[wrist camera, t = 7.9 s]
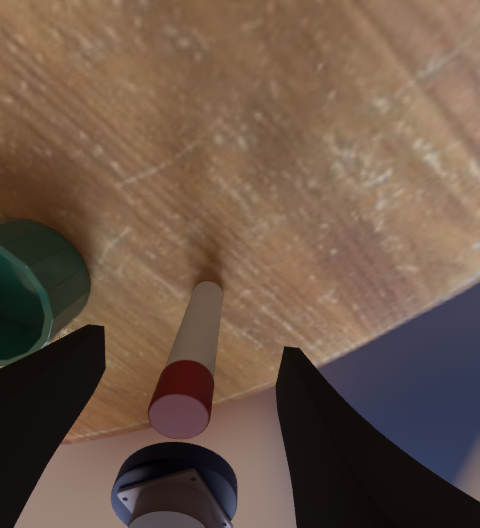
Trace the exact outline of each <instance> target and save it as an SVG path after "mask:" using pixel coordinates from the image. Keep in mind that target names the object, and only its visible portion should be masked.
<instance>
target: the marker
mask: <svg viewBox="0 0 480 528" xmlns="http://www.w3.org/2000/svg"><path fill="white" fill-rule="evenodd" d="M222 302H223V291H222V289H221V288H220V286H219V285H218V284H216V283H214V282H211V281H204V282H201V283H199V284H197V285H196V286H195V288H194V290H193V293H192V295H191V298H190V301H189V303H188V306H187V309H186V312H185V314H184V317H183V320H182V322H181V325H180V328H179V331H178V333H177V336H176V339H175V341H174V344H173V347H172V350H171V352H170V355H169V358H168V361H167V363H166V366H165V369H164V370H163V371H162V373H161V375H160V378H159V381H158V383H157V386H156V389H155V391H154V394H153V397H152V399H151V402H150V405H149V408H148V419H149V422H150V424H151V425H152V427H153V428H154V429H155V430H156V431H157V432H159V433H160V434H162V435H164V436H166V437H169V438H173V439H188V438H192V437H195V436H197V435H199V434H200V433H202V432H203V431H204V430H205V429H206V427H207V426H208V424H209V421H210V416H211V407H212V398H213V390H214V379H213V377H214V369H215V361H216V352H217V344H218V336H219V327H220V319H221V311H222Z"/></svg>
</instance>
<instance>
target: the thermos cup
mask: <svg viewBox="0 0 480 528" xmlns="http://www.w3.org/2000/svg"><path fill="white" fill-rule="evenodd" d="M89 291H90V282H89V276H88V272H87V269H86V266H85V264H84V262H83V260H82V258H81V256H80V255H79V253H78V252H77V251H76V249H75V248H74V247H73V246H72V245H71V244H70V242H69V241H67V240H66V239H65V238H64V237H63V236H62V235H60V234H59V233H57V232H56V231H54V230H53V229H51V228H49V227H47V226H45V225H43V224H40V223H38V222H34V221H31V220H26V219H19V218H7V219H1V220H0V366H7V365H9V364H11V363H13V362H15V361H17V360H19V359H21V358H23V357H25V356H27V355H30V354H32V353H34V352H36V351H38V350H40V349H42V348H43V347H45V346H47V345H48V344H49V343H50V342H51V341H52V340H53V339H54V338H55V337H56V336H57V335H58V334H60V333H61V332H62V331H63V330H64V329H65V328H66V327H67V326H68V325H69V324H70V323H71V322H72V321H73V320H74V319H75V318H76V317H77V316H78V315H79V314H80V313H81V311H82V310H83V309H84V307H85V305H86V303H87V300H88V297H89Z"/></svg>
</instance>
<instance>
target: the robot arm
mask: <svg viewBox="0 0 480 528" xmlns="http://www.w3.org/2000/svg"><path fill="white" fill-rule="evenodd" d="M105 369H106V365H105V334H104V326H98V325H90V324H88V325H86V326H84V327H82V328H80V329H78V330H76V331H74V332H72V333H70V334H68V335H66V336H64V337H63V338H61V339H59V340H57V341H55V342H53V343H51V344H49V345H47V346H45V347H43V348H42V349H40V350H38V351H36V352H34V353H32V354H30V355H27V356H25V357H23V358H21V359H19V360H17V361H15V362H13V363H11V364H9V365H7V366H5V367H2V368H0V528H14V526H15V523H16V522H17V520H18V518H19V516H20V514H21V512H22V510H23V508H24V506H25V504H26V502H27V501H28V499H29V497H30V495H31V493H32V491H33V490H34V488H35V486H36V484H37V482H38V480H39V479H40V477H41V475H42V473H43V471H44V469H45V468H46V465H47V464H48V462H49V461H50V459H51V458H52V456H53V454H54V453H55V451H56V449H57V448H58V446H59V445H60V443H61V442H62V440H63V439H64V437H65V436H66V434H67V433H68V431H69V430H70V428H71V427H72V425H73V424H74V422H75V421H76V419H77V418H78V416H79V415H80V413H81V412H82V410H83V409H84V407H85V406H86V404H87V403H88V401H89V399H90V398H91V396H92V395H93V393H94V391H95V389H96V387H97V385H98V383H99V381H100V379H101V377H102V375H103V373H104V371H105ZM276 399H277V410H278V416H279V421H280V426H281V431H282V436H283V441H284V446H285V451H286V456H287V461H288V466H289V470H290V477H291V482H292V488H293V498H294V507H295V515H296V525H297V528H480V502H479V501H477V500H476V499H474V498H472V497H471V496H469V495H467V494H466V493H464V492H463V491H461V490H459V489H458V488H456V487H454V486H453V485H451V484H450V483H448V482H447V481H445V480H444V479H442V478H441V477H439V476H438V475H436V474H435V473H433V472H432V471H430V470H429V469H428V468H426V467H425V466H423V465H422V464H420V463H419V462H418V461H416V460H415V459H414V458H412V457H411V456H409V455H408V454H407V453H405V452H404V451H403V450H401V449H400V448H399V447H398V446H396V445H395V444H394V443H392V442H391V441H390V440H389V439H387V438H386V437H385V436H384V435H382V434H381V433H380V432H379V431H378V430H376V429H375V428H374V427H373V426H372V425H371V424H370V423H369V422H367V421H366V420H365V419H364V418H363V417H362V416H361V415H359V414H358V413H357V412H356V411H355V410H354V409H353V408H352V407H351V406H350V405H349V404H348V403H347V402H346V401H345V400H344V399H343V398H342V397H341V396H340V395H339V394H338V393H337V391H336V390H335V389H334V388H333V387H332V386H331V385H330V384H329V383H328V382H327V380H326V379H325V378H324V377H323V376H322V375H321V374H320V372H319V371H318V370H317V369H316V368H315V366H314V365H313V364H312V363H311V361H310V360H309V359H308V358H307V357H306V355H305V354H304V353H303V352H302V351H301V349H300V348H295V347H286V346H284V351H283V355H282V360H281V364H280V369H279V373H278V378H277V382H276ZM117 496H118V498H119V499H120V500H121V501H122V502H123V504H124V505H125V506H126V507H127V508H128V510H129V511H130V512H131V513H132V516H131V519H130V523H129V526H128V528H233V524H232V523H231V521H230V520H229V518H228V517H227V515H226V514H225V512H224V511H223V509H222V508H221V506H220V505H219V503H218V502H217V500H216V499H215V497H214V496H213V494H212V493H211V491H210V490H209V488H208V487H207V486H206V484H205V483H204V481H203V480H202V478H201V477H200V475H199V474H198V472H197V471H196V469H194V468H188V469H184V470H181V471H178V472H174V473H171V474H168V475H164V476H161V477H158V478H154V479H151V480H147V481H144V482H141V483H137V484H134V485H131V486H127V487H124V488H121V489H119V491H118V493H117Z"/></svg>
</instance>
